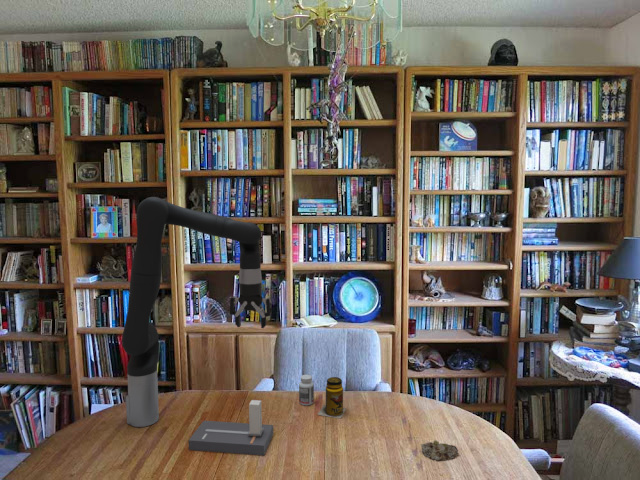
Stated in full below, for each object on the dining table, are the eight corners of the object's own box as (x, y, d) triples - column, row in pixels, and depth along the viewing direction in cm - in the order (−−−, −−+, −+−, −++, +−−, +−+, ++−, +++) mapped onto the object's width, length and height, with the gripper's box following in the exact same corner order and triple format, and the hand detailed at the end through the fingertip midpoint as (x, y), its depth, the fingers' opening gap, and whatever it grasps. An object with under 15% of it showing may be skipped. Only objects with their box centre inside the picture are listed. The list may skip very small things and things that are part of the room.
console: (188, 449, 138) (188, 439, 138) (203, 429, 150) (203, 420, 150) (264, 455, 136) (263, 445, 135) (273, 434, 147) (273, 424, 147)
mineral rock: (423, 454, 132) (420, 433, 140) (421, 466, 134) (419, 444, 141) (461, 458, 131) (457, 436, 139) (460, 469, 133) (455, 447, 140)
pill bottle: (307, 397, 173) (307, 372, 172) (316, 402, 169) (316, 377, 168) (296, 402, 170) (295, 376, 168) (305, 407, 165) (304, 381, 164)
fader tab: (247, 435, 140) (247, 405, 139) (251, 428, 144) (250, 399, 143) (260, 436, 139) (260, 405, 138) (263, 429, 143) (263, 399, 142)
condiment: (341, 418, 157) (341, 384, 156) (317, 415, 160) (317, 381, 158) (346, 409, 164) (346, 376, 163) (323, 405, 167) (323, 373, 165)
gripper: (226, 282, 156) (227, 329, 158) (268, 283, 154) (268, 331, 156) (233, 278, 163) (234, 323, 165) (273, 279, 161) (273, 324, 163)
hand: (251, 327), depth 160 cm, fingers open, 8 cm apart
